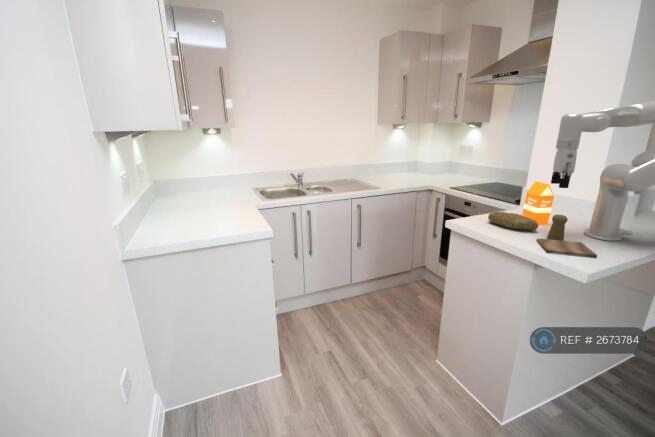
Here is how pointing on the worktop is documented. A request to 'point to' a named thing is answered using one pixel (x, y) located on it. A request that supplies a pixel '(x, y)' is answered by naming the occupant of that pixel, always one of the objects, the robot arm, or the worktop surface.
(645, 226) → the worktop surface
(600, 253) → the worktop surface
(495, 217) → the sponge
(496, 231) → the worktop surface
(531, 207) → the orange juice
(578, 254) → the walnut board
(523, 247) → the worktop surface
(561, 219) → the cork
